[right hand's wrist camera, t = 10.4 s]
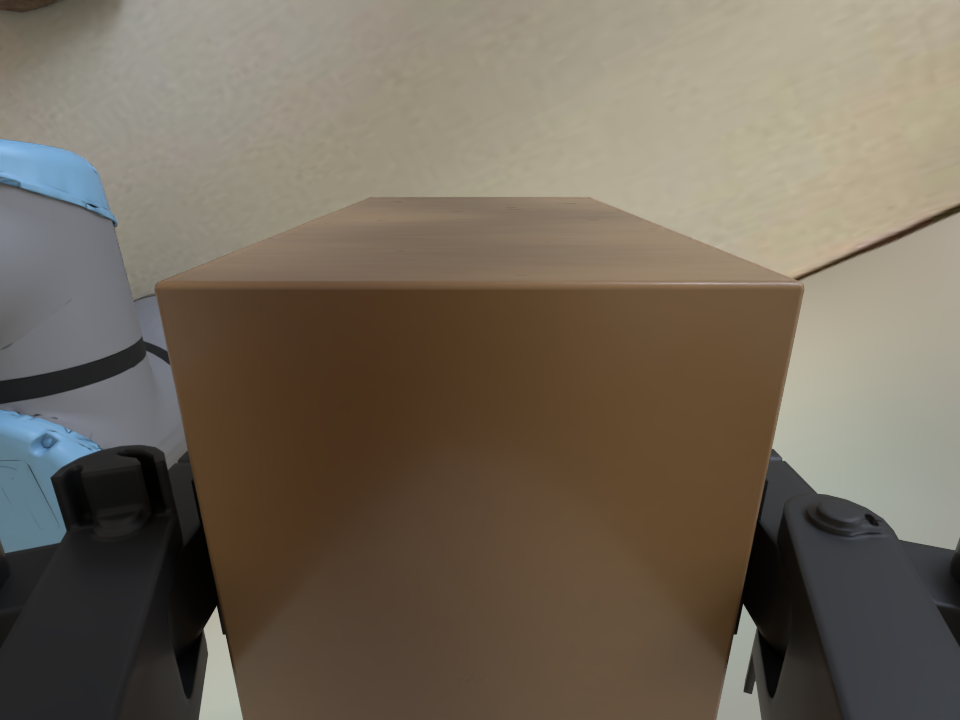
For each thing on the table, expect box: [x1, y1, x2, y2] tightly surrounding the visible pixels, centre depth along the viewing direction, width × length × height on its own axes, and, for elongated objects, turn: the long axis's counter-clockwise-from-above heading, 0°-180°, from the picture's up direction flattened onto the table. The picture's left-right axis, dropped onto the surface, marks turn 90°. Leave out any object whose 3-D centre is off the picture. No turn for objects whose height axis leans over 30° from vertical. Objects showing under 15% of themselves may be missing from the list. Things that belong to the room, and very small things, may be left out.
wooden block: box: [155, 197, 804, 720], centre depth 12 cm, size 6×9×11 cm
